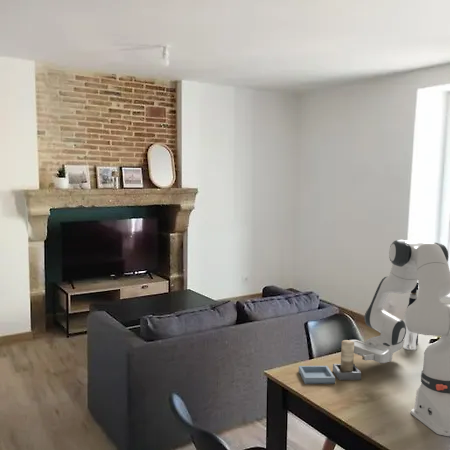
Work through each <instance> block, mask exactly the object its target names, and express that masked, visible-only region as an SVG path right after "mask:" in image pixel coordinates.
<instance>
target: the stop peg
mask: <svg viewBox="0 0 450 450" xmlns="http://www.w3.org/2000/svg"><path fill="white" fill-rule="evenodd" d="M350 340H351V339H349V340H348V339H344V340H341V347H340V349H341V352H340V364H341V369H340V371H341V372H353V364H354V359H355V357H354V355H355V353H354V342H353V341H350Z"/></svg>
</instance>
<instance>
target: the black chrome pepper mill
mask: <svg viewBox="0 0 450 450" xmlns="http://www.w3.org/2000/svg"><path fill="white" fill-rule="evenodd" d="M417 291H419V283H418V281H417V284H416V286H415V288H414V289H413V290H412V291H410V294H409V298H408V305H407V307H408V306H409V305H411V304H412V303H413V302H414V301H415V300H416V299H417V297H418V294H417ZM418 342H419V334H418V335H417V339H416V345H418V344H419V343H418Z"/></svg>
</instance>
